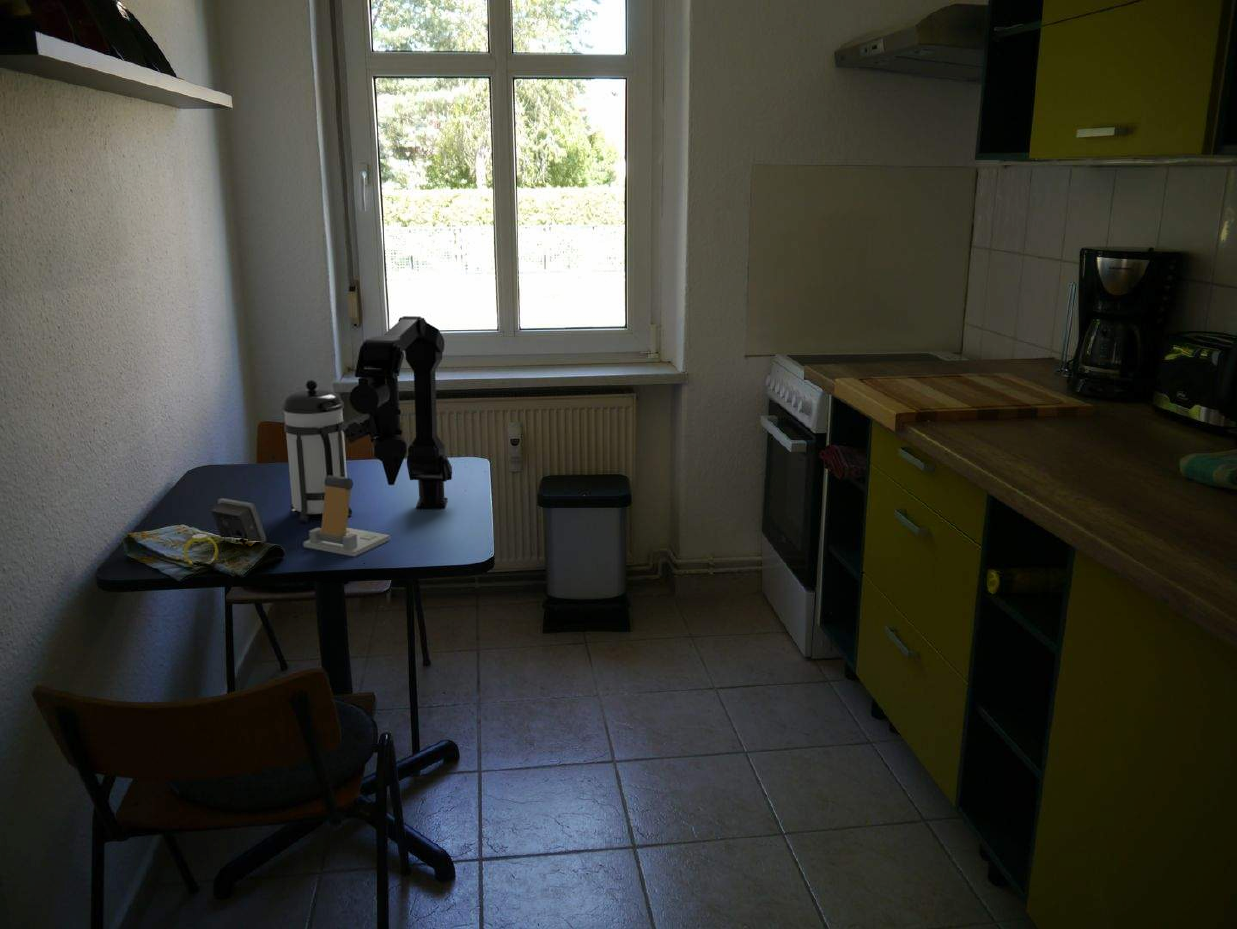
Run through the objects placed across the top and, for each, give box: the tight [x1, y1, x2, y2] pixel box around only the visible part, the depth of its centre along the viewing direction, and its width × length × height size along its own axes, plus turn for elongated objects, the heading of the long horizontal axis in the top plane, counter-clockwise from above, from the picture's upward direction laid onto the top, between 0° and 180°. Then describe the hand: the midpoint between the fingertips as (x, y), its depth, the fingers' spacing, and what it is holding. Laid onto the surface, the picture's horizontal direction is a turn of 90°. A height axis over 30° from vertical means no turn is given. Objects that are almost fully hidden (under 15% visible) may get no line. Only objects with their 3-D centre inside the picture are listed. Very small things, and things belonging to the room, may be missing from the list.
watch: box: [183, 533, 219, 566], centre depth 197 cm, size 6×3×6 cm, turn 120°
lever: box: [318, 475, 354, 544], centre depth 206 cm, size 2×6×13 cm, turn 65°
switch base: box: [302, 527, 391, 557], centre depth 210 cm, size 11×13×4 cm
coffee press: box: [281, 379, 353, 524], centre depth 224 cm, size 17×16×30 cm
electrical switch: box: [210, 497, 267, 543], centre depth 209 cm, size 9×5×9 cm, turn 65°
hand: (389, 478), depth 208 cm, fingers open, 9 cm apart
